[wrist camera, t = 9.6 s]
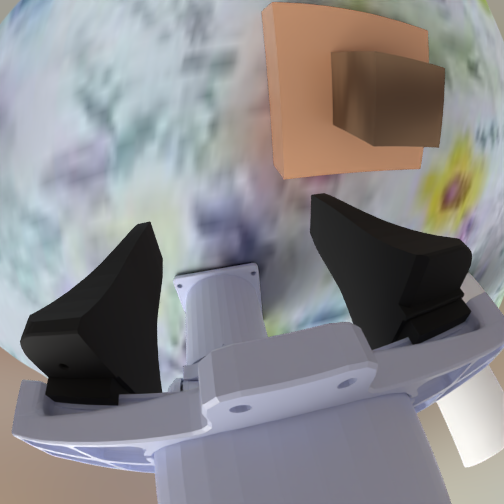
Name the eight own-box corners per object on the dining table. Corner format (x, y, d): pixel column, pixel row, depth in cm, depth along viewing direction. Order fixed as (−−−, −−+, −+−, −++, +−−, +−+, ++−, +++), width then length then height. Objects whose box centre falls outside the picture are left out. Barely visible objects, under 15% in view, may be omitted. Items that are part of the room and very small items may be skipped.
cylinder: (408, 349, 47) (461, 461, 25) (392, 319, 38) (467, 474, 16) (471, 300, 43) (534, 403, 21) (473, 254, 33) (566, 388, 11)
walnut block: (392, 125, 16) (438, 147, 13) (332, 124, 16) (373, 146, 12) (394, 60, 13) (444, 68, 9) (330, 52, 13) (375, 51, 9)
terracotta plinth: (400, 156, 21) (420, 169, 19) (273, 164, 20) (284, 179, 18) (404, 30, 14) (427, 30, 12) (261, 11, 13) (271, 2, 11)
